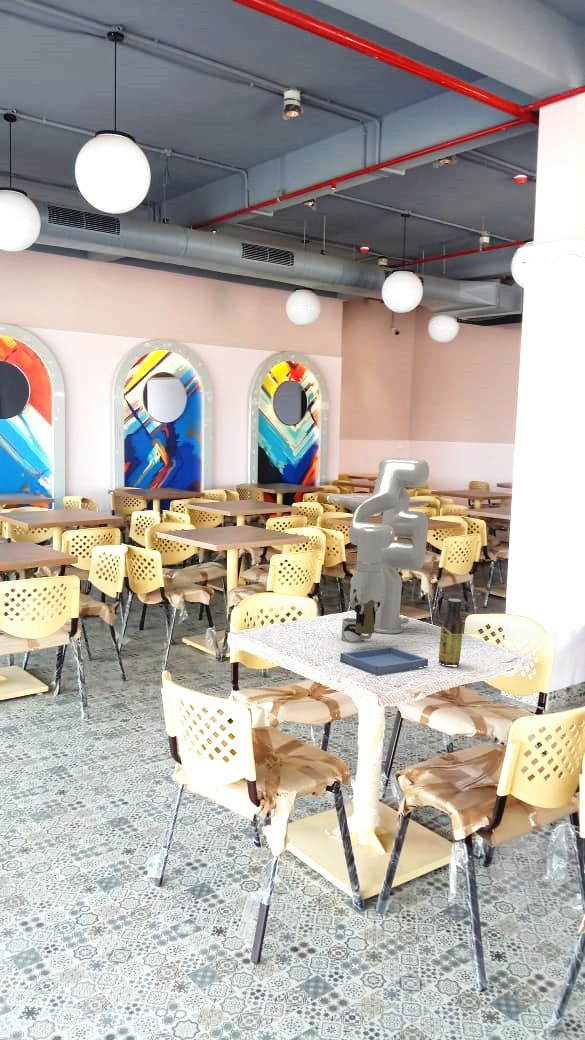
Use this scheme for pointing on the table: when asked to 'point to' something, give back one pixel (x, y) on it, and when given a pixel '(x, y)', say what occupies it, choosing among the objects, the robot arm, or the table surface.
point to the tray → (383, 660)
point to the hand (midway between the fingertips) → (365, 623)
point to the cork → (367, 619)
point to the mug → (351, 631)
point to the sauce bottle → (451, 634)
